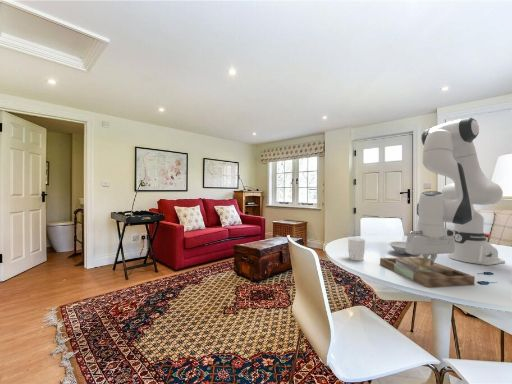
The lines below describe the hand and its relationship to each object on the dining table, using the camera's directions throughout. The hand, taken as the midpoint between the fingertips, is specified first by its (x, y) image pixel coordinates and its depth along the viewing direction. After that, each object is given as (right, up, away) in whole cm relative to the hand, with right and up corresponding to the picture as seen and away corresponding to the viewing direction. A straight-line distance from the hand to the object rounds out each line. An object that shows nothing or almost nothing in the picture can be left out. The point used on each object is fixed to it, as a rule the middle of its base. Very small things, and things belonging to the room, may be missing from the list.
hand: (429, 264), depth 101 cm
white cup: (-21, -4, +22) cm, 31 cm away
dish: (+10, -4, +33) cm, 35 cm away
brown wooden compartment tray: (-2, -4, +2) cm, 5 cm away
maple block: (-4, -1, -1) cm, 5 cm away
